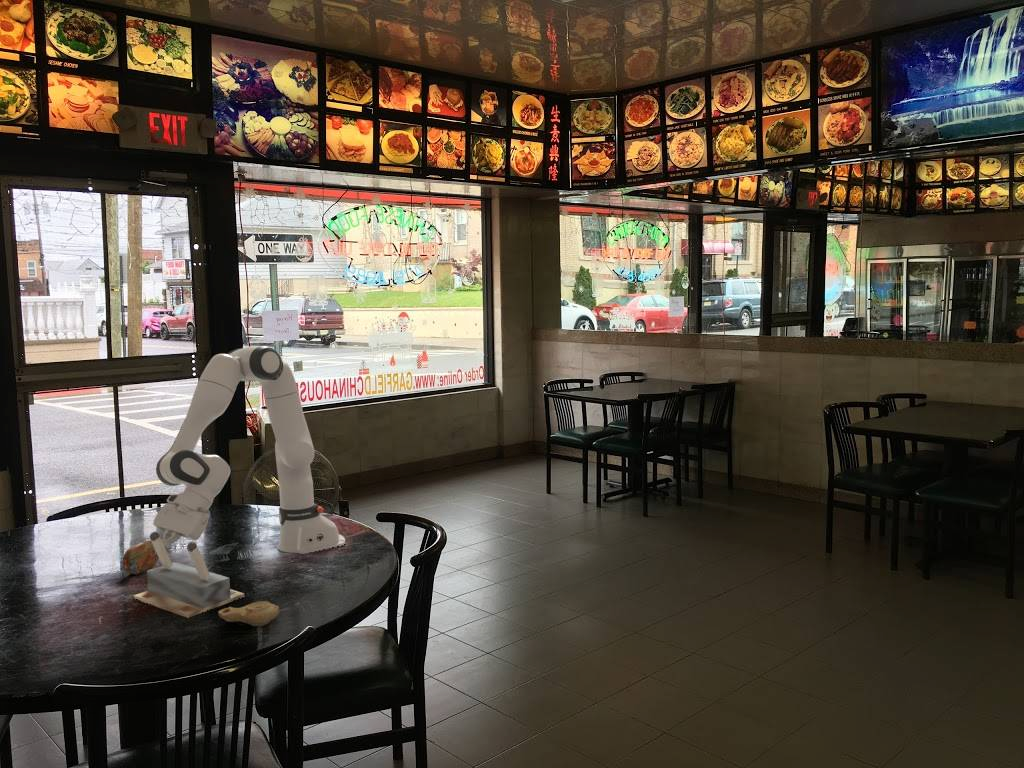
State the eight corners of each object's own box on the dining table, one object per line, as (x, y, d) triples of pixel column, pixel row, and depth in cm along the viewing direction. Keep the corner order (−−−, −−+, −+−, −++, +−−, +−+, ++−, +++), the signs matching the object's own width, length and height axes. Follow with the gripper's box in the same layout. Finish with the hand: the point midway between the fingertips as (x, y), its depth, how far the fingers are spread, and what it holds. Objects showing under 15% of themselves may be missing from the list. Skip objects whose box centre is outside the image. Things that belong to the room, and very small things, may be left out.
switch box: (190, 579, 252) (188, 557, 251) (244, 596, 237) (242, 573, 236) (133, 598, 237) (132, 575, 236) (187, 617, 222) (186, 592, 221)
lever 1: (168, 562, 243) (153, 529, 238) (174, 564, 241) (159, 530, 237) (161, 567, 241) (146, 534, 236) (167, 569, 239) (152, 536, 235)
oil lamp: (217, 623, 218) (216, 605, 218) (271, 611, 226) (270, 593, 225) (227, 637, 209) (226, 618, 209) (283, 624, 217) (282, 605, 216)
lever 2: (206, 573, 232) (190, 539, 228) (212, 575, 231) (197, 541, 226) (198, 579, 231) (183, 544, 226) (205, 581, 229) (189, 546, 224)
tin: (131, 578, 255) (129, 551, 254) (122, 577, 255) (120, 551, 254) (161, 562, 269) (159, 537, 268) (152, 561, 270) (150, 536, 269)
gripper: (219, 516, 243) (192, 558, 237) (180, 505, 256) (153, 545, 249) (205, 505, 239) (176, 547, 233) (166, 495, 251) (137, 534, 245)
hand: (164, 546), depth 241 cm, fingers closed
